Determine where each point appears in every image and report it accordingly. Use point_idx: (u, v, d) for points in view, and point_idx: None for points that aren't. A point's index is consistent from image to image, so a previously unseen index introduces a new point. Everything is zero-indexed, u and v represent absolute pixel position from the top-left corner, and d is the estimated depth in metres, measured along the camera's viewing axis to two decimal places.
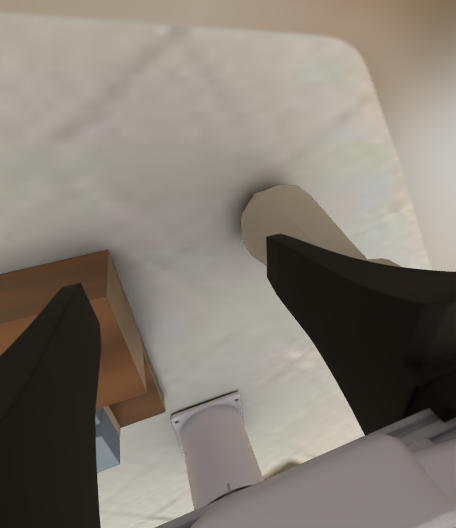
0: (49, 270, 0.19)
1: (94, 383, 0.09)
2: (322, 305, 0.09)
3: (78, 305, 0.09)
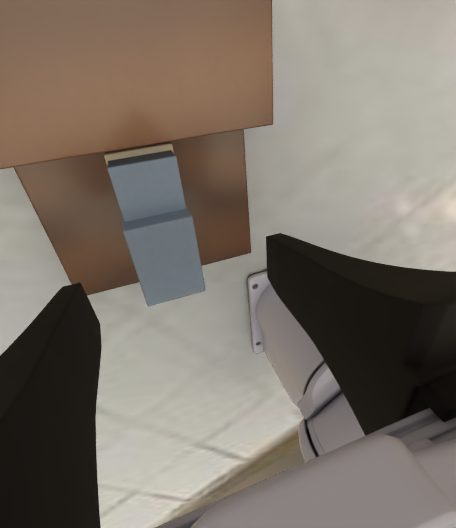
0: None
1: (94, 383, 0.09)
2: (322, 305, 0.09)
3: (78, 305, 0.09)
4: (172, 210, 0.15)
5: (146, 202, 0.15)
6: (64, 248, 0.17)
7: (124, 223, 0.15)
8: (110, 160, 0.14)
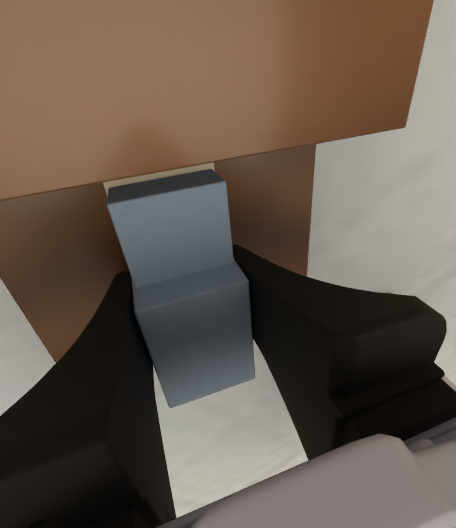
0: None
1: (151, 365, 0.10)
2: (267, 322, 0.09)
3: None
4: (212, 266, 0.09)
5: (172, 256, 0.09)
6: (41, 315, 0.11)
7: (135, 291, 0.09)
8: (112, 187, 0.08)
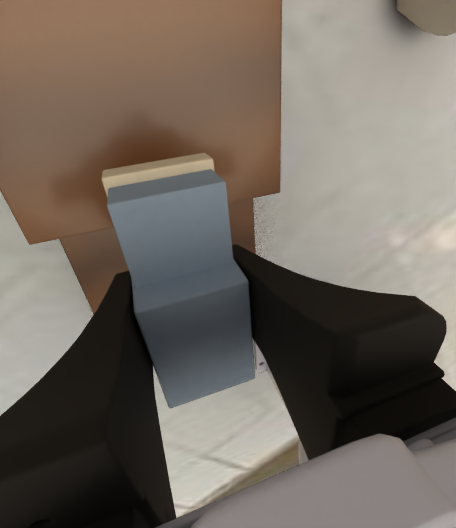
0: None
1: (150, 365, 0.10)
2: (267, 322, 0.09)
3: None
4: (212, 266, 0.09)
5: (172, 257, 0.09)
6: (91, 289, 0.19)
7: (135, 292, 0.09)
8: (112, 187, 0.09)
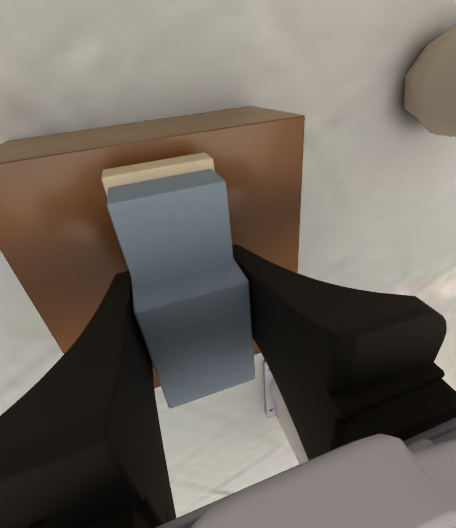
0: (189, 117, 0.14)
1: (150, 365, 0.10)
2: (267, 322, 0.09)
3: None
4: (212, 266, 0.09)
5: (172, 257, 0.09)
6: None
7: (135, 292, 0.09)
8: (112, 187, 0.08)
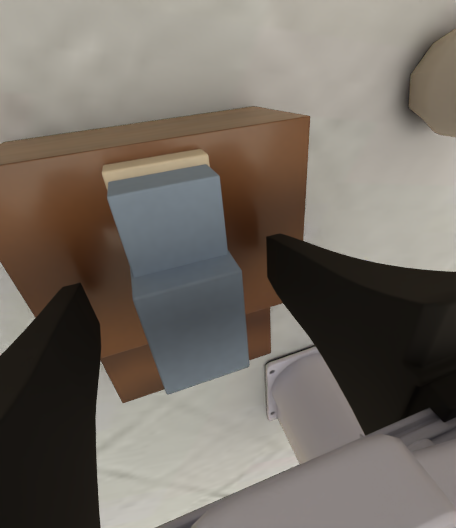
0: (190, 117, 0.14)
1: (94, 383, 0.09)
2: (322, 305, 0.09)
3: (78, 305, 0.09)
4: (207, 257, 0.10)
5: (169, 247, 0.09)
6: (115, 371, 0.20)
7: (134, 281, 0.09)
8: (112, 181, 0.09)
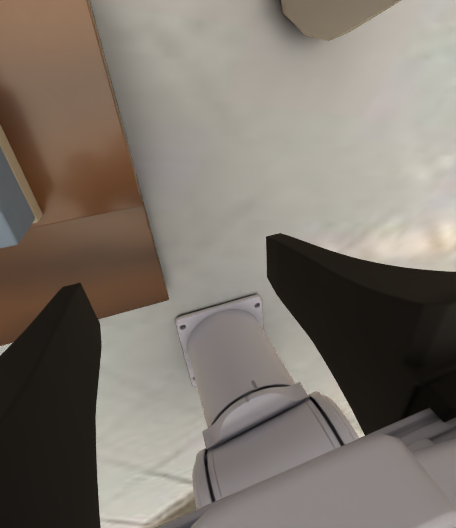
0: None
1: (94, 383, 0.09)
2: (322, 305, 0.09)
3: (78, 305, 0.09)
4: None
5: None
6: None
7: None
8: None
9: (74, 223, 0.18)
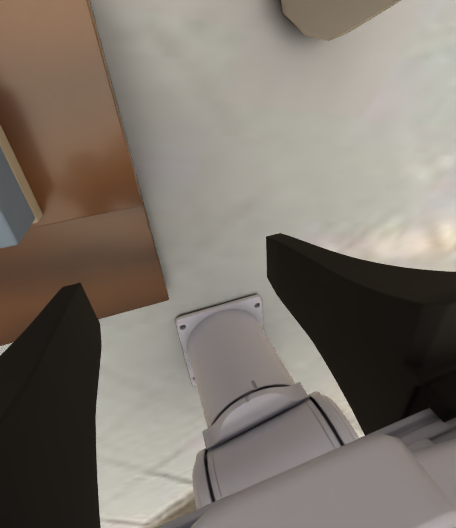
0: None
1: (94, 383, 0.09)
2: (322, 305, 0.09)
3: (78, 305, 0.09)
4: None
5: None
6: None
7: None
8: None
9: (74, 223, 0.18)
